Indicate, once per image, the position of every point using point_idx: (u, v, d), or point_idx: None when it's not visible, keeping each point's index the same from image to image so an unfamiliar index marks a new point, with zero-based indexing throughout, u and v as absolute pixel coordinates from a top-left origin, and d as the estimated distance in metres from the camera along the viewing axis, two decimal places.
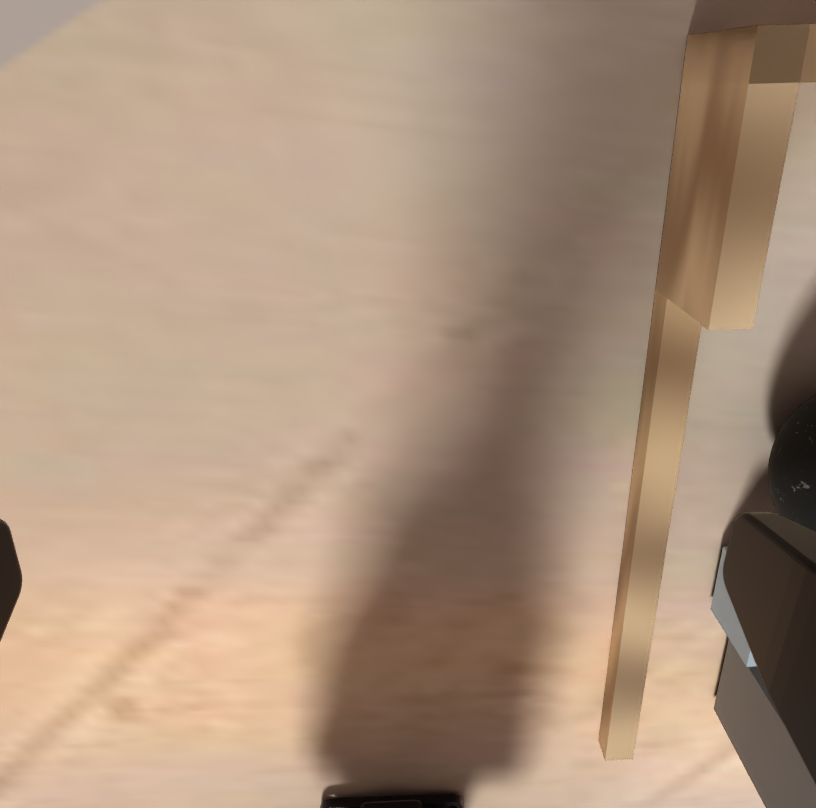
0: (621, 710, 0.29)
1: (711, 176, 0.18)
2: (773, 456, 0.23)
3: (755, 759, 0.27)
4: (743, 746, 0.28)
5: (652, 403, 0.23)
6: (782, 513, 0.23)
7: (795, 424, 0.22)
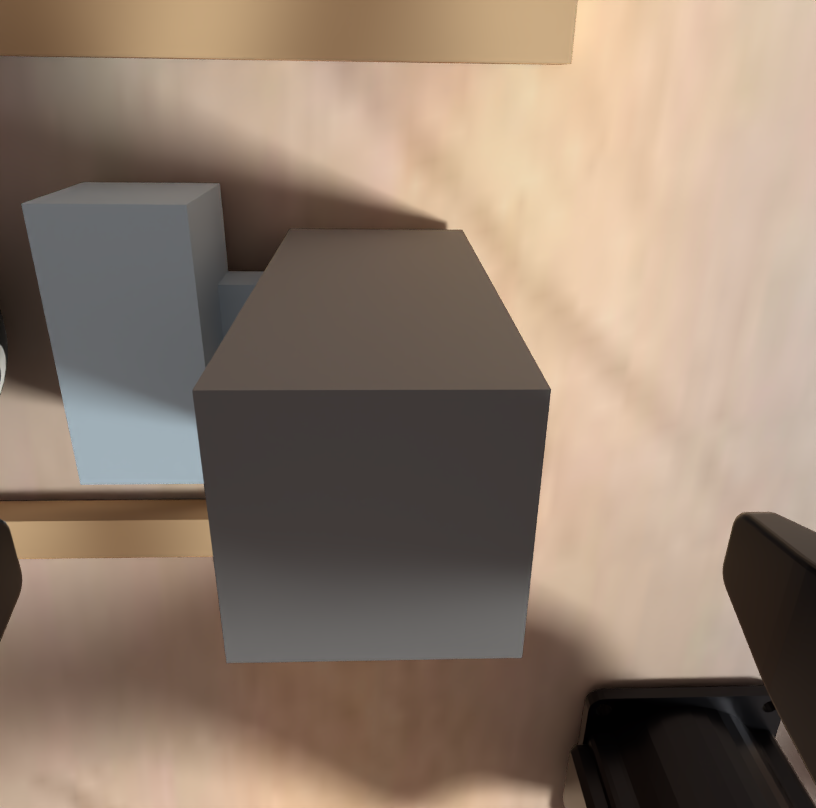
0: None
1: None
2: None
3: None
4: None
5: None
6: None
7: None
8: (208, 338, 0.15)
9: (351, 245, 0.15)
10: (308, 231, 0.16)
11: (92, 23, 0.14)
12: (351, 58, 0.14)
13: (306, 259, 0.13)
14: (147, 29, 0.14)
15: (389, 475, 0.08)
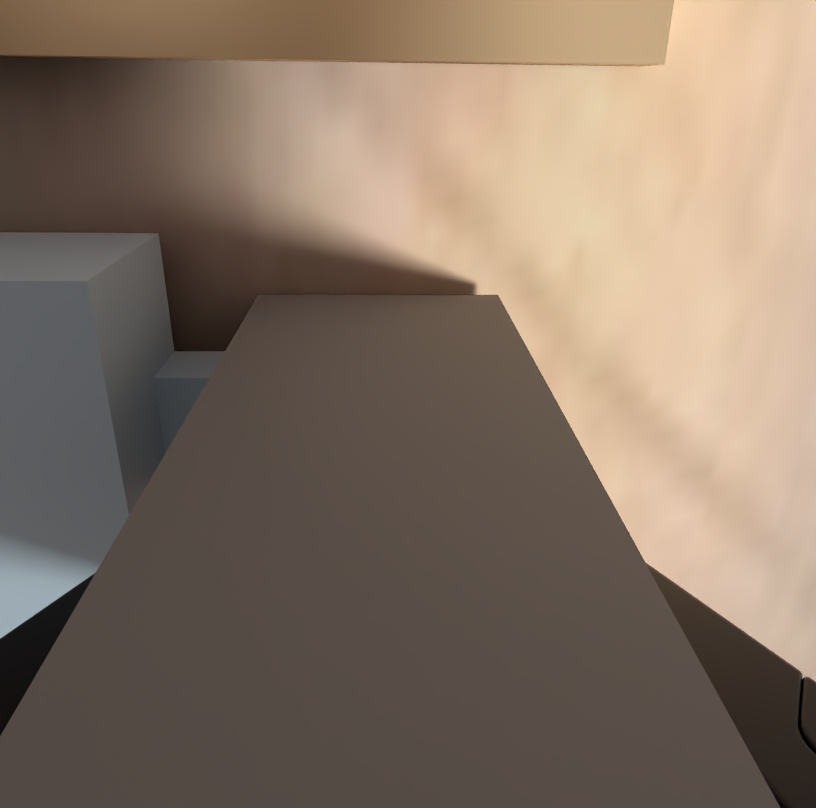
0: None
1: None
2: None
3: None
4: None
5: None
6: None
7: None
8: (134, 463, 0.10)
9: (342, 328, 0.10)
10: (283, 299, 0.11)
11: None
12: (341, 57, 0.10)
13: (273, 360, 0.09)
14: (37, 14, 0.09)
15: None
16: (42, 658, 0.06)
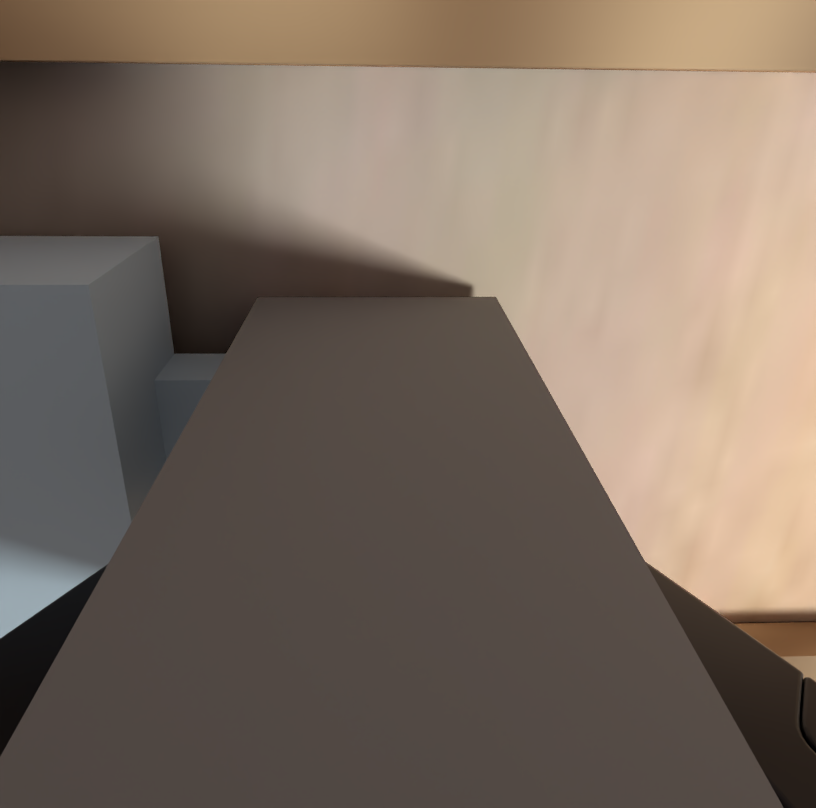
0: None
1: None
2: None
3: None
4: None
5: None
6: None
7: None
8: (136, 465, 0.10)
9: (342, 330, 0.10)
10: (282, 302, 0.11)
11: (575, 21, 0.10)
12: None
13: (273, 362, 0.09)
14: (650, 29, 0.10)
15: None
16: (42, 658, 0.06)
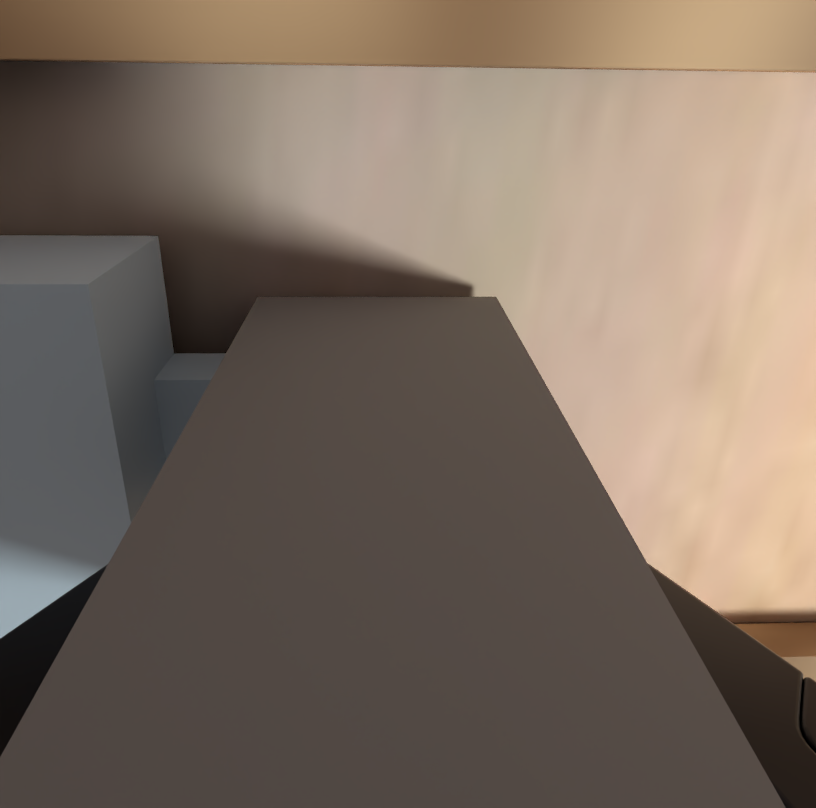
0: None
1: None
2: None
3: None
4: None
5: None
6: None
7: None
8: (135, 465, 0.10)
9: (342, 330, 0.10)
10: (282, 302, 0.11)
11: (577, 20, 0.10)
12: None
13: (273, 362, 0.09)
14: (652, 28, 0.10)
15: None
16: (42, 658, 0.06)
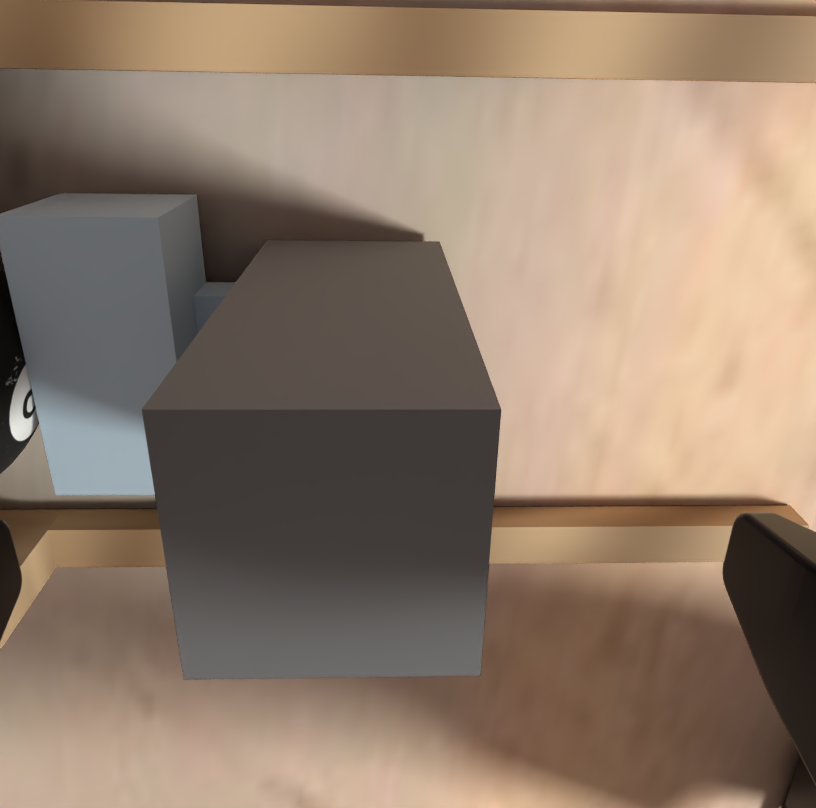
0: (697, 550, 0.19)
1: None
2: None
3: None
4: None
5: None
6: None
7: None
8: (182, 350, 0.15)
9: (325, 257, 0.15)
10: (285, 243, 0.16)
11: (491, 45, 0.14)
12: (732, 79, 0.14)
13: (278, 272, 0.13)
14: (542, 50, 0.14)
15: (342, 494, 0.08)
16: None
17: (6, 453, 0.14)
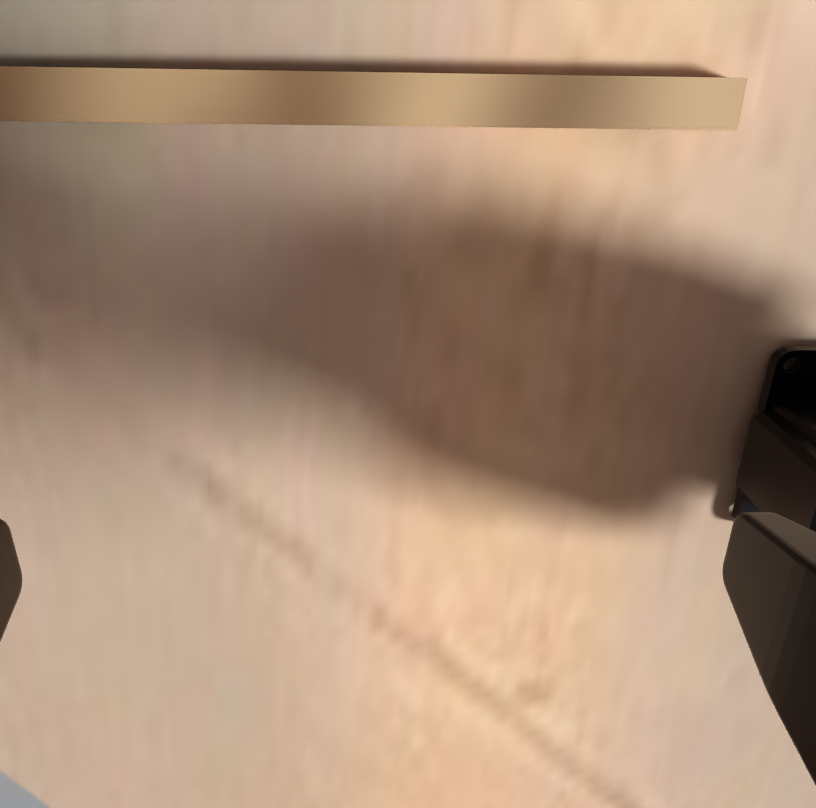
0: (623, 111, 0.17)
1: None
2: None
3: None
4: None
5: (57, 121, 0.17)
6: None
7: None
8: None
9: None
10: None
11: None
12: None
13: None
14: None
15: None
16: None
17: None
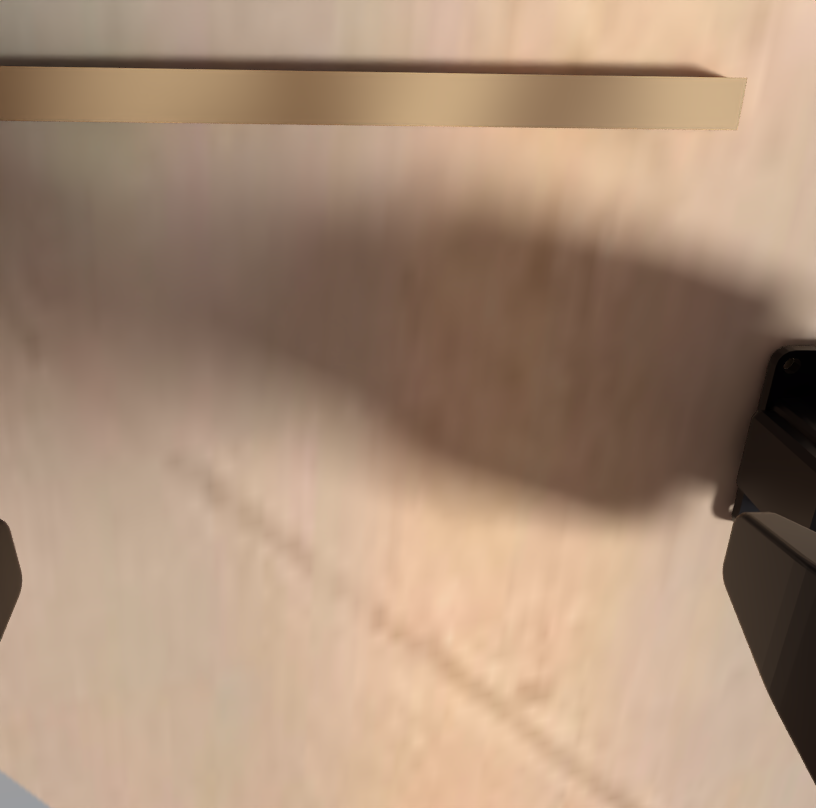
0: (624, 111, 0.17)
1: None
2: None
3: None
4: None
5: None
6: None
7: None
8: None
9: None
10: None
11: None
12: None
13: None
14: None
15: None
16: None
17: None
